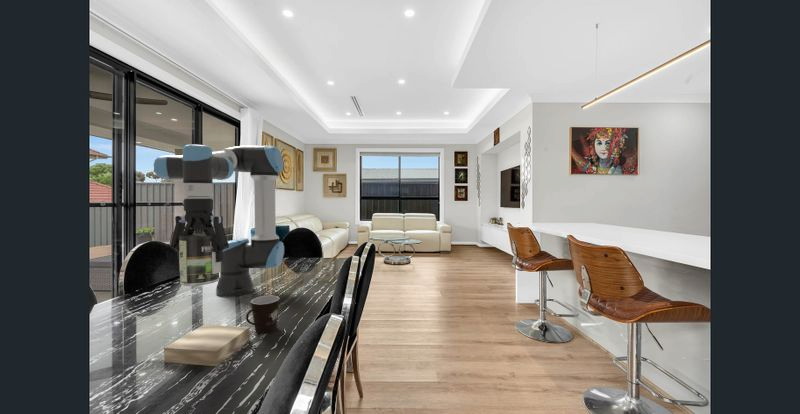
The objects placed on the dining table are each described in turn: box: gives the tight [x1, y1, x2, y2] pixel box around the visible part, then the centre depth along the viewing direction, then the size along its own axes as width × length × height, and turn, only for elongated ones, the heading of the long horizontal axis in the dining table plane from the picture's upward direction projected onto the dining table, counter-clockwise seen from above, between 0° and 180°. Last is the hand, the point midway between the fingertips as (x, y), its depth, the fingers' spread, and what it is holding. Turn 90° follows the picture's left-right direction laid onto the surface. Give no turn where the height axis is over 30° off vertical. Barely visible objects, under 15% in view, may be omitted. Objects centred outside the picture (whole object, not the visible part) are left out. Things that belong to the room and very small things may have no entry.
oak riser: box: [163, 324, 251, 367], centre depth 94 cm, size 15×15×4 cm
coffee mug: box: [245, 294, 280, 335], centre depth 107 cm, size 12×9×10 cm
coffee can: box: [179, 232, 220, 287], centre depth 99 cm, size 10×10×14 cm
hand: (200, 272), depth 99 cm, fingers closed on coffee can, 10 cm apart
